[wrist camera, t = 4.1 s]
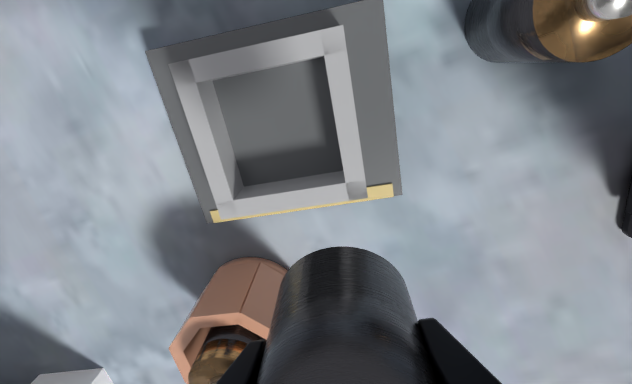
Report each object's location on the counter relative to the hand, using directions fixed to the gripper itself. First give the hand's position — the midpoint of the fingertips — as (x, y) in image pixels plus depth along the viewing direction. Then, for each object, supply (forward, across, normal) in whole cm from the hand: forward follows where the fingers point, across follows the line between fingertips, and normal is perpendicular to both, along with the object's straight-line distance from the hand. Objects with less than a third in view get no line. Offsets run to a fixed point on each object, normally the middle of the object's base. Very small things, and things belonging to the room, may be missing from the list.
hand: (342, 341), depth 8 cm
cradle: (+12, +2, -4) cm, 13 cm away
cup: (+12, +8, +8) cm, 16 cm away
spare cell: (+12, -10, -7) cm, 17 cm away
